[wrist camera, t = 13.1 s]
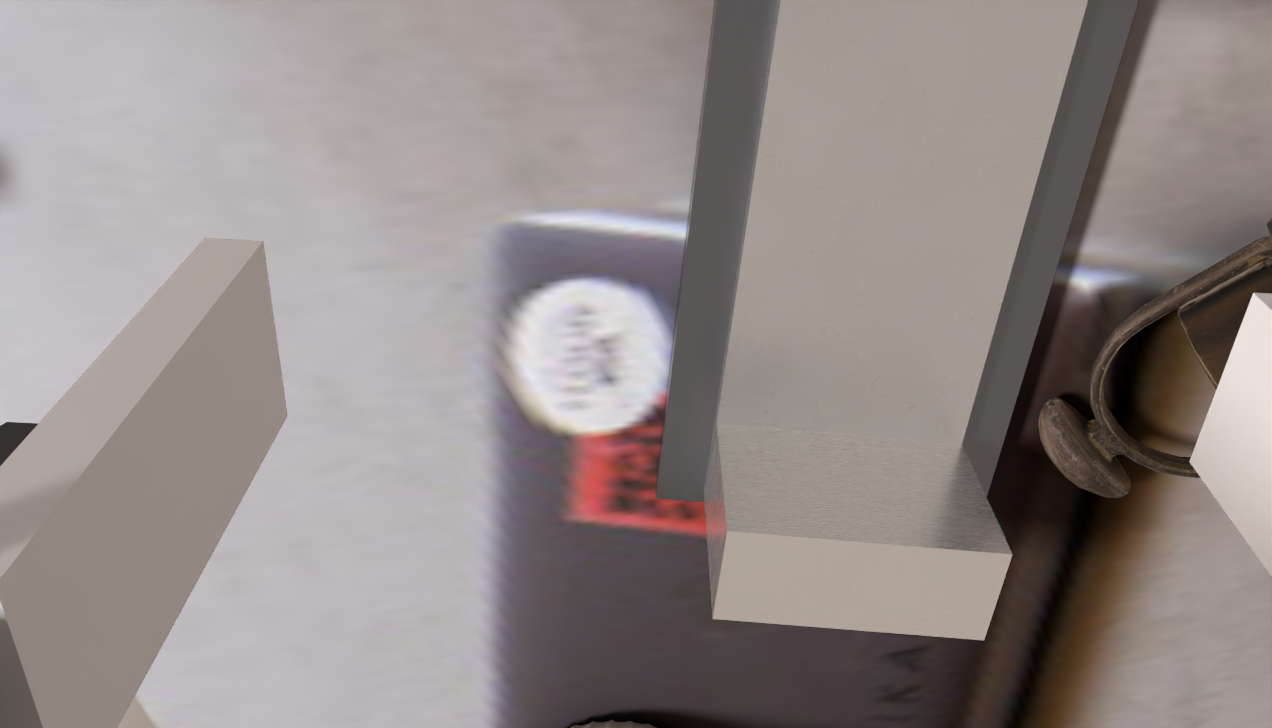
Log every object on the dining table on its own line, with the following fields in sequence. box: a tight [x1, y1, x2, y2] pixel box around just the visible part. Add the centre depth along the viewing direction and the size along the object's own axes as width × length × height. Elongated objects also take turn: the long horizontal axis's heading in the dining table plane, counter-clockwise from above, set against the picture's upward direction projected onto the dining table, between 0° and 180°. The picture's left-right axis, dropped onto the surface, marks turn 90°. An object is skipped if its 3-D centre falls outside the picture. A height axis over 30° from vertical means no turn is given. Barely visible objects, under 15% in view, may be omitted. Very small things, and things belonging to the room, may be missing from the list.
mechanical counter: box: [1038, 219, 1272, 498], centre depth 40 cm, size 7×13×10 cm
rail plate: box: [656, 0, 1139, 640], centre depth 37 cm, size 28×14×9 cm, turn 175°
